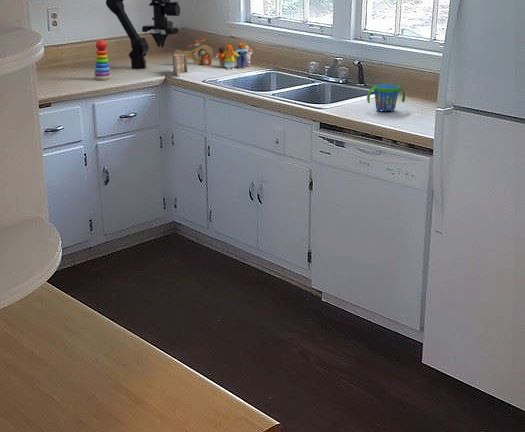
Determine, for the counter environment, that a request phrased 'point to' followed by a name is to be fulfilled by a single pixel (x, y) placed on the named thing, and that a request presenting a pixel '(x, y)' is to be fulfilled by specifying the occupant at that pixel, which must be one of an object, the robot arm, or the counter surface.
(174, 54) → the fence gate
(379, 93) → the snack cup
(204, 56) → the toy helicopter
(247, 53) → the doll family
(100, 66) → the stacking toy
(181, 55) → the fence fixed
